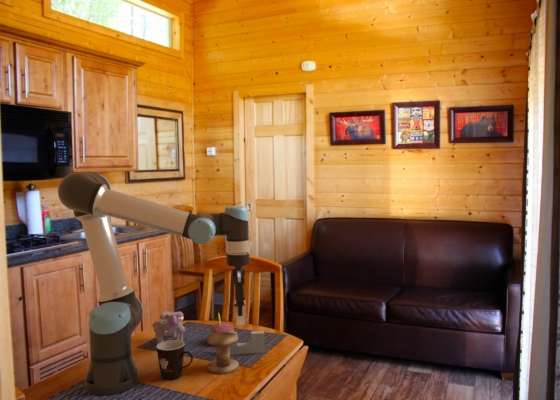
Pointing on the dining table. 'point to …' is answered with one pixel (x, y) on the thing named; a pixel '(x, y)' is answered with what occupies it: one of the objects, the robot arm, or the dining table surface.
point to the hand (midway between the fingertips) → (240, 322)
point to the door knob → (222, 353)
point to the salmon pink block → (244, 313)
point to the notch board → (250, 344)
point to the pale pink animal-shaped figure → (169, 325)
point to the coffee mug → (171, 359)
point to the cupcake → (221, 327)
